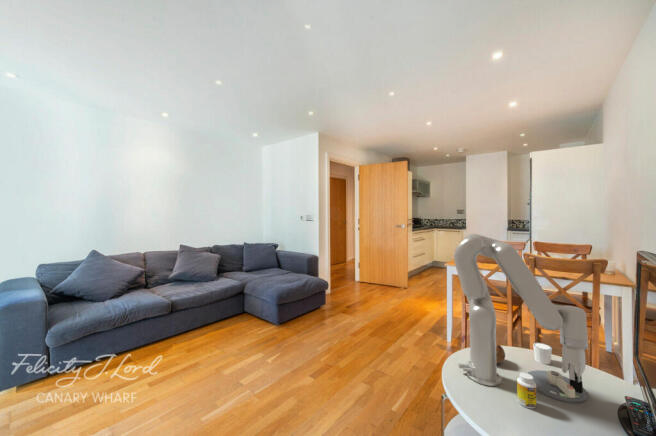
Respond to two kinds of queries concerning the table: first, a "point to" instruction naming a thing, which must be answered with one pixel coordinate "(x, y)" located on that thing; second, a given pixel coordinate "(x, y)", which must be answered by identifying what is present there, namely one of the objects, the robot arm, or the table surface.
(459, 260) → the robot arm
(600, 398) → the table surface
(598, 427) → the table surface
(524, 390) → the supplement bottle
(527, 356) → the table surface
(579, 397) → the dial
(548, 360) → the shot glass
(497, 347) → the onion
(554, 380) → the lever
